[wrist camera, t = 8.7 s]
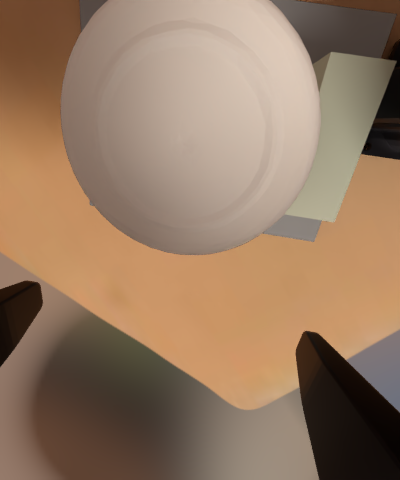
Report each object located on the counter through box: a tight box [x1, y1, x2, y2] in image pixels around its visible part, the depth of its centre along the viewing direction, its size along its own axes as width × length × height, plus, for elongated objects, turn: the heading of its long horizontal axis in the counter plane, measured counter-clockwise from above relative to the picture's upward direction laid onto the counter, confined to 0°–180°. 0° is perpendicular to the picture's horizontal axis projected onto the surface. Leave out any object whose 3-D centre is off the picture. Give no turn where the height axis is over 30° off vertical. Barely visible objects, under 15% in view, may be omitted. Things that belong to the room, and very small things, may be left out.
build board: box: [79, 0, 397, 242], centre depth 16 cm, size 18×14×5 cm
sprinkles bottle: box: [61, 0, 321, 255], centre depth 10 cm, size 5×5×14 cm
